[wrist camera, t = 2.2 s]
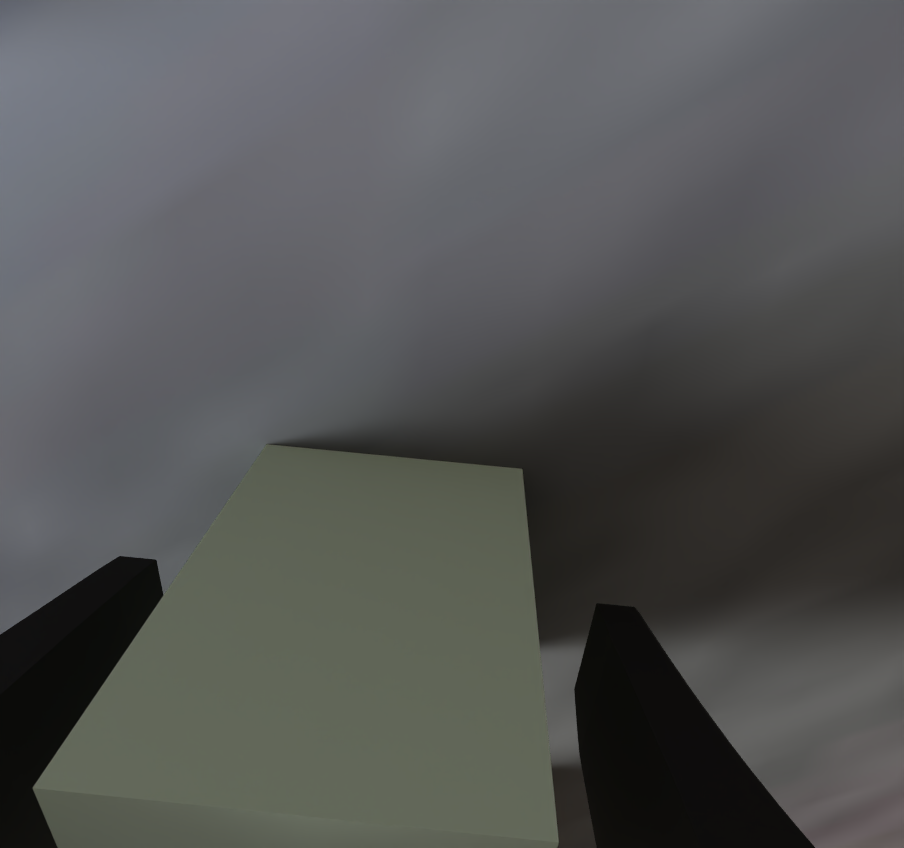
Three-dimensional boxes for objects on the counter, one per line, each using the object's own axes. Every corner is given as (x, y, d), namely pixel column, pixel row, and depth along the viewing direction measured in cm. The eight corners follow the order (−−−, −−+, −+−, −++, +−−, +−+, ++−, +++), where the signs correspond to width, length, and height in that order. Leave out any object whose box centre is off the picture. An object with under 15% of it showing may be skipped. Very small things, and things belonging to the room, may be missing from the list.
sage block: (493, 649, 12) (497, 1050, 7) (281, 628, 12) (126, 1009, 7) (521, 468, 10) (558, 842, 5) (267, 443, 10) (31, 788, 5)
